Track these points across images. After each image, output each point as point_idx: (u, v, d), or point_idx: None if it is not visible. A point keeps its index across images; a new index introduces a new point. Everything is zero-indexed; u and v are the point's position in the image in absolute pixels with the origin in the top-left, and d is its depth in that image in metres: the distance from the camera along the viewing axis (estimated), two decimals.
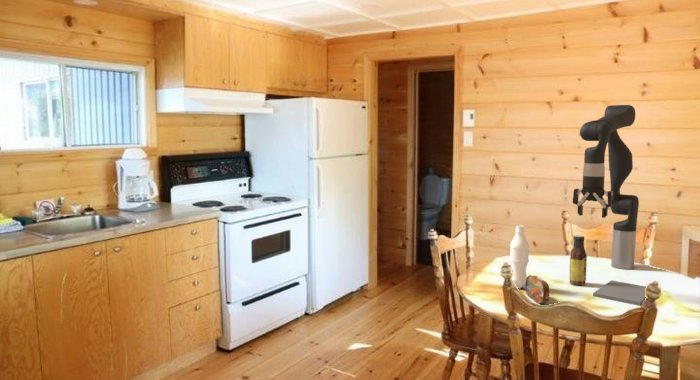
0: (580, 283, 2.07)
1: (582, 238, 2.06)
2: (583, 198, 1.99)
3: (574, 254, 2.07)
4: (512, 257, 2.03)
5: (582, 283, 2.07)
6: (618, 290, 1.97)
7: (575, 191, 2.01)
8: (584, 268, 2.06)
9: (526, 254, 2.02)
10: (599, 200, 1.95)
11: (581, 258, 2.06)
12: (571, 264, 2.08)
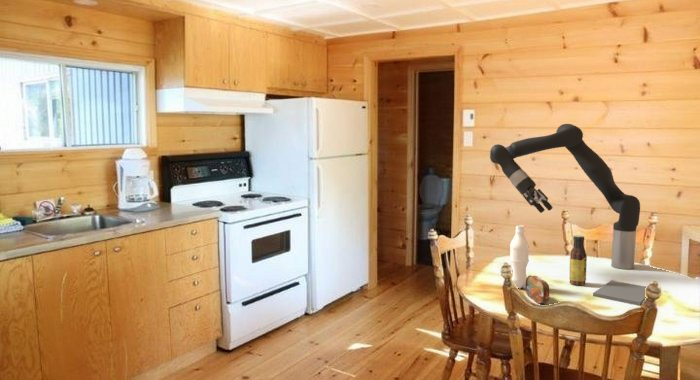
0: (580, 283, 2.07)
1: (582, 238, 2.06)
2: None
3: (574, 254, 2.07)
4: (512, 257, 2.03)
5: (582, 283, 2.07)
6: (618, 290, 1.97)
7: None
8: (584, 268, 2.06)
9: (526, 254, 2.02)
10: None
11: (581, 258, 2.06)
12: (571, 264, 2.08)
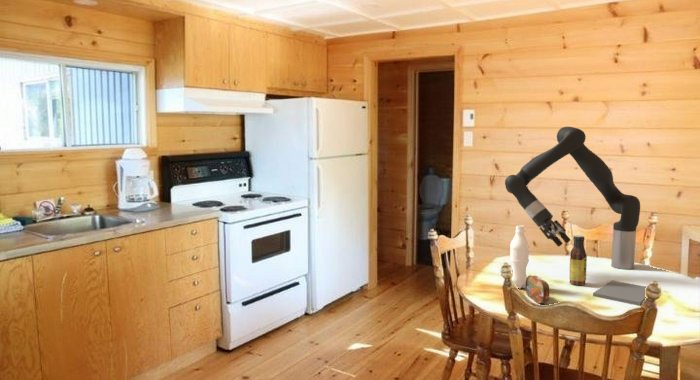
0: (580, 283, 2.07)
1: (582, 238, 2.06)
2: None
3: (574, 254, 2.07)
4: (512, 257, 2.03)
5: (582, 283, 2.07)
6: (618, 290, 1.97)
7: None
8: (584, 268, 2.06)
9: (526, 254, 2.02)
10: None
11: (581, 258, 2.06)
12: (571, 264, 2.08)
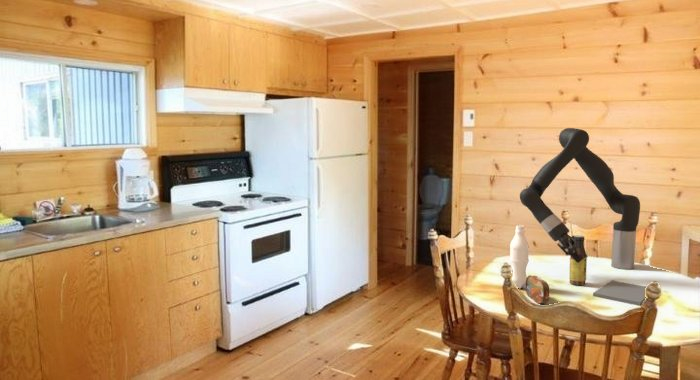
0: (580, 283, 2.07)
1: (582, 238, 2.06)
2: None
3: None
4: (512, 257, 2.03)
5: (582, 283, 2.07)
6: (618, 290, 1.97)
7: None
8: (584, 268, 2.06)
9: (526, 254, 2.02)
10: None
11: (581, 258, 2.06)
12: (571, 264, 2.08)
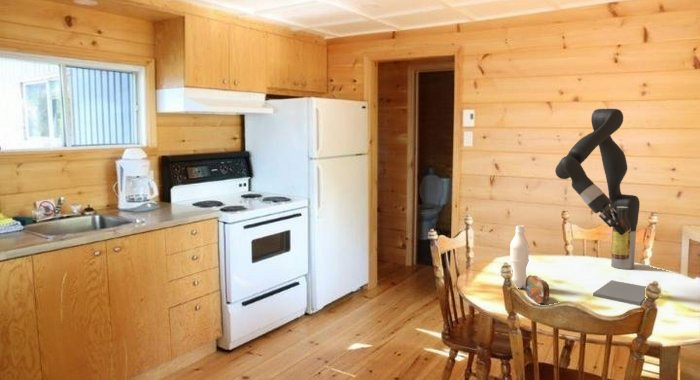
0: (623, 257, 1.94)
1: (626, 209, 1.93)
2: None
3: None
4: (512, 257, 2.03)
5: (626, 257, 1.94)
6: (618, 290, 1.97)
7: None
8: (628, 241, 1.93)
9: (526, 254, 2.02)
10: None
11: (625, 230, 1.93)
12: (614, 237, 1.95)
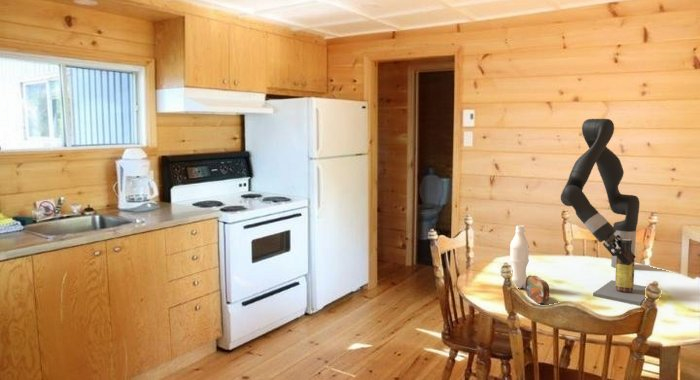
0: (628, 290, 1.94)
1: (630, 241, 1.94)
2: None
3: None
4: (512, 257, 2.03)
5: (630, 290, 1.94)
6: None
7: None
8: (632, 274, 1.93)
9: (526, 254, 2.02)
10: None
11: (629, 263, 1.93)
12: (618, 269, 1.95)
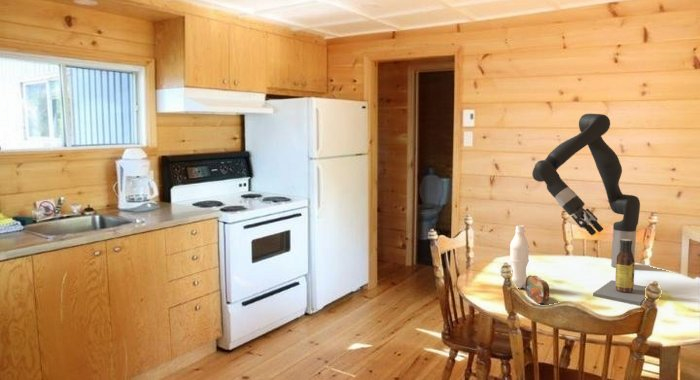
0: (628, 290, 1.94)
1: (630, 242, 1.93)
2: None
3: (622, 259, 1.94)
4: (512, 257, 2.03)
5: (630, 290, 1.94)
6: None
7: None
8: (632, 274, 1.93)
9: (526, 254, 2.02)
10: None
11: (629, 263, 1.93)
12: (618, 270, 1.95)
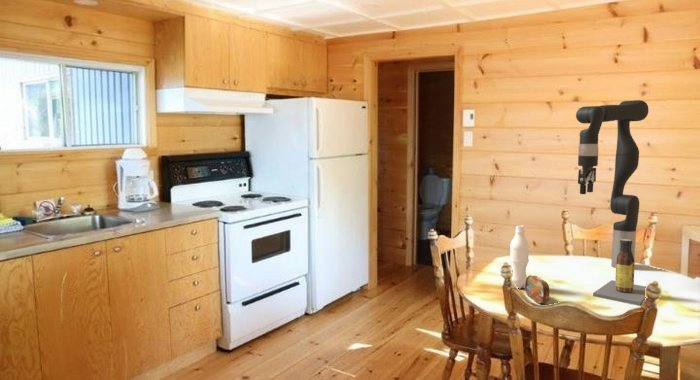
0: (628, 290, 1.94)
1: (630, 242, 1.93)
2: None
3: (621, 259, 1.94)
4: (512, 257, 2.03)
5: (630, 290, 1.94)
6: None
7: None
8: (632, 274, 1.93)
9: (526, 254, 2.02)
10: None
11: (629, 263, 1.93)
12: (618, 270, 1.95)
